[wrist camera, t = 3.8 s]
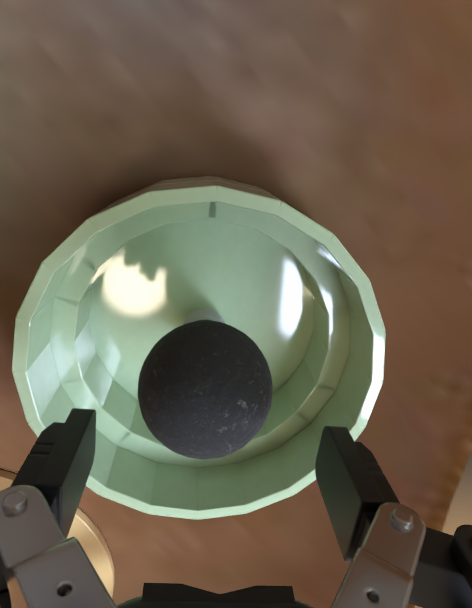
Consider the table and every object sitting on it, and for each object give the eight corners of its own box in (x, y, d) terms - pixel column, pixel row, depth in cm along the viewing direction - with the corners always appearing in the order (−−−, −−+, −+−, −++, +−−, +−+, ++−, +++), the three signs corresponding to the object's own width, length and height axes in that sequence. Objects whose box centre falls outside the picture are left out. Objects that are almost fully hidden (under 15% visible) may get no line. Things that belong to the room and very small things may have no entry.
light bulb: (213, 256, 23) (222, 328, 14) (271, 330, 25) (313, 439, 16) (134, 315, 24) (92, 421, 15) (195, 383, 26) (193, 516, 17)
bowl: (1, 251, 23) (-71, 289, 17) (285, 125, 22) (318, 115, 16) (142, 471, 28) (126, 560, 22) (372, 379, 27) (422, 446, 21)
